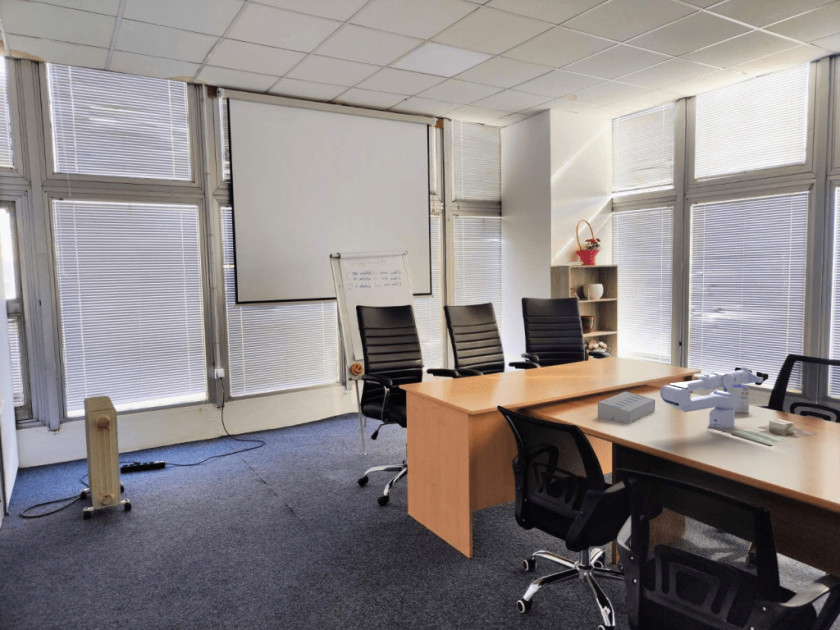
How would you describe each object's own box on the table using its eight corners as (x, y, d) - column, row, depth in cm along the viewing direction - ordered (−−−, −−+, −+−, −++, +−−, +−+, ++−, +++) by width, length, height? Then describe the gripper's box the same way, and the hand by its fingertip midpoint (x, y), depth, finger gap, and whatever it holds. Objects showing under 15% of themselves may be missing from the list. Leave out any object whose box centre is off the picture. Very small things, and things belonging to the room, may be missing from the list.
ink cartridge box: (745, 410, 264) (746, 380, 263) (749, 413, 259) (750, 382, 258) (722, 409, 266) (723, 379, 265) (726, 412, 261) (727, 381, 260)
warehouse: (628, 424, 243) (629, 407, 243) (597, 418, 253) (597, 402, 253) (654, 411, 265) (655, 395, 264) (625, 406, 275) (625, 391, 274)
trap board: (769, 446, 210) (769, 442, 210) (731, 435, 225) (731, 431, 225) (817, 437, 221) (817, 433, 221) (778, 427, 236) (778, 423, 236)
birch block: (783, 434, 220) (783, 424, 220) (768, 430, 226) (769, 420, 226) (793, 432, 223) (793, 422, 222) (778, 428, 228) (779, 419, 228)
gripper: (752, 371, 228) (775, 368, 233) (721, 365, 241) (744, 362, 246) (751, 388, 229) (774, 385, 234) (721, 381, 242) (743, 377, 247)
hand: (759, 374), depth 240 cm, fingers open, 7 cm apart
